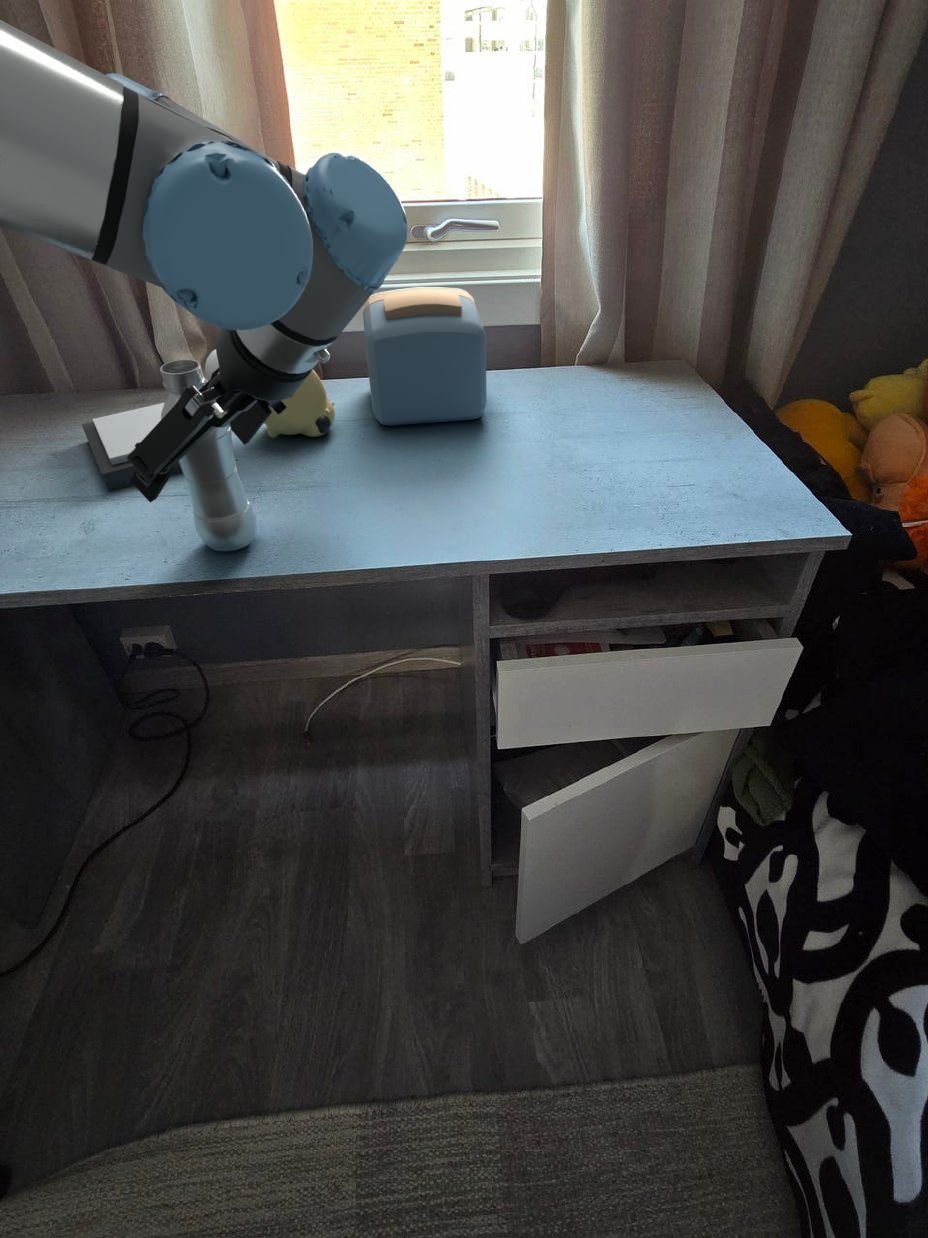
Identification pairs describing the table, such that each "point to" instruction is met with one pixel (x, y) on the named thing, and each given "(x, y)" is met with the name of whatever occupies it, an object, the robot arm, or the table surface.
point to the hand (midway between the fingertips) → (193, 460)
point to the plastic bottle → (211, 471)
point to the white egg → (211, 364)
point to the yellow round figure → (304, 411)
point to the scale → (121, 442)
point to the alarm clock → (425, 355)
